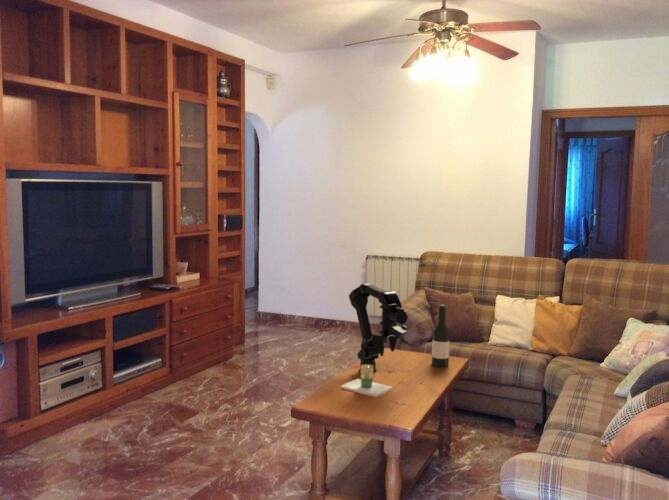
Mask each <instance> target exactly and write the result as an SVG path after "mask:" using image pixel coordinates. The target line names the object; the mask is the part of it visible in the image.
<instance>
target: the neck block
mask: <svg viewBox="0 0 669 500" xmlns="http://www.w3.org/2000/svg"><path fill="white" fill-rule="evenodd" d="M340 388H341V389H343V390H347V391H351V392H354V393H359V394H361V395H362V394H363V395H365V396H369V397H373V398H378V397H379V396H382V395H383V394H385V393H388V392H389V391H391V390H393V387H392V386H390V385H386V384H382V383H378V382H374V381H373V378H372V379H362V378H361V377H360V378H355V379H353V380H350V381H349V382H346V383H343V384H342V385H341V386H340Z"/></svg>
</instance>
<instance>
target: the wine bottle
mask: <svg viewBox="0 0 669 500" xmlns="http://www.w3.org/2000/svg"><path fill="white" fill-rule="evenodd" d="M446 312H447V307H446V305H445V304H439V306H438V321H437V324H436V326H435V327H434V329H433V331H432V342H431V343H432V345H431V346H432V347H431V365H432V366H433V365H434V366H433V367H436V366H438V367H437V368H446V367H445V366H447V367H449V364H450V363H449V362H450V361H449V360H450V359H449V358H450V343H451V342H450V341H451V340H450V337H451V332H450V330H449V328H448V326H447V324H446V319H447V317H446V315H447V313H446Z"/></svg>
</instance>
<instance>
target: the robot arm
mask: <svg viewBox="0 0 669 500" xmlns="http://www.w3.org/2000/svg"><path fill="white" fill-rule="evenodd" d="M370 296H371V297H373V298H375V299H377V300H378V302H379V303H380V304H381V305H380V306H379V309H382V310H381V321H379V325H381V330H379V332H377V333H374V334H373V332H372V328H371V323H370V319H369V314H368V310H367V306H368V303H369V297H370ZM348 297H349V298H348V299H349V301H350V304H351V306H352V307H353V309H354V310H355V312H356V315H357V320H358V324H359V329H360V334H361V339H362V340H361V344H360V350H359V351H358V352H357V359H359V360H360V365H359V366H360V367H359V368H360V369H358V370H357V371H358V372H359V373H361V365H364V364H368V365H372V366H373V373H375V372H377V367H376V366H377V363H376V359H379V357H380V356H381V357H383V356H384V354H385V346H386V344H387V343H389V348H390V351H391V352H395V349H396V345H397V343H398V341H399V340H401V339H404V338H405V336H406V335H407V334H408V327H407V326H406V325H404V324H405V323H406V322H407V321H408V317H409V316H408V314H407V312H406V311H405V309H404V308H403V306H402V302H401V300H400V298H399V295H398V293H397V292H396V291H393V290H384V289H382V288H379V287H378V286H375V285H373V284H372V283H369V282H367V283H362V284H360V285H358V287H356V288H355V289H353V290H351V292H350V293H349V295H348ZM398 325H402V326H398ZM388 341H389V342H388Z"/></svg>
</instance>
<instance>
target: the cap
mask: <svg viewBox="0 0 669 500" xmlns="http://www.w3.org/2000/svg"><path fill="white" fill-rule="evenodd" d="M361 378H362V379H372V380H373V379H374V372H373V366H372V365H368V364H364V365H361V372H360V379H361Z"/></svg>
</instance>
